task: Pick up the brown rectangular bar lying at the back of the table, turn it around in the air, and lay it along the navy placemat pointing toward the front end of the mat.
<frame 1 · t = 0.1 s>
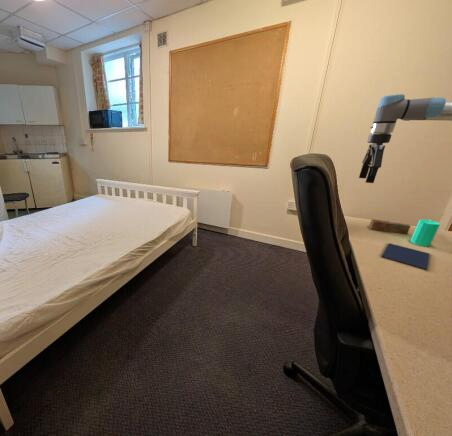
hand: (365, 180, 107), 26 cm above the table, tool pointing down, fingers open, 13 cm apart
candle: (419, 243, 100), on the table
placemat: (405, 255, 90), on the table
brown rectangular bar: (369, 228, 117), on the table
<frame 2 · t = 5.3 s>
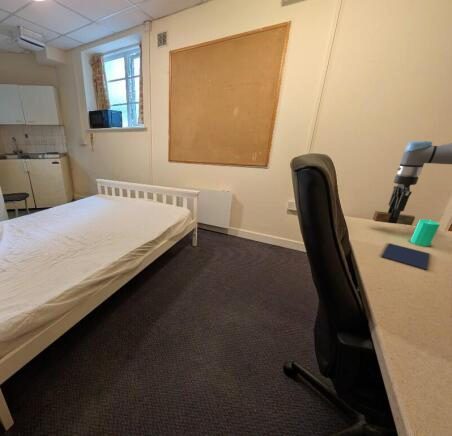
hand: (390, 221, 112), 5 cm above the table, tool pointing down, fingers closed on brown rectangular bar, 4 cm apart
brown rectangular bar: (373, 219, 115), point 5 cm above the table, touching gripper
everything else where it was.
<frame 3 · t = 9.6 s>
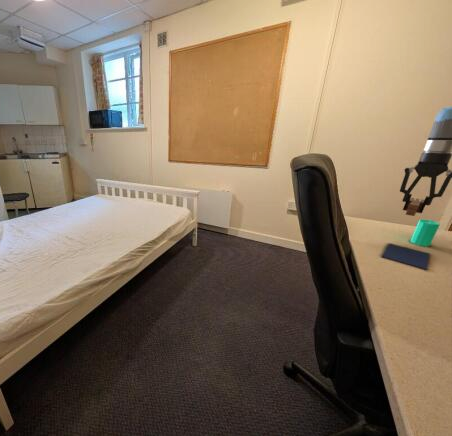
hand: (412, 210, 91), 17 cm above the table, tool pointing down, fingers closed on brown rectangular bar, 4 cm apart
brown rectangular bar: (413, 208, 95), point 17 cm above the table, touching gripper
everything else where it was.
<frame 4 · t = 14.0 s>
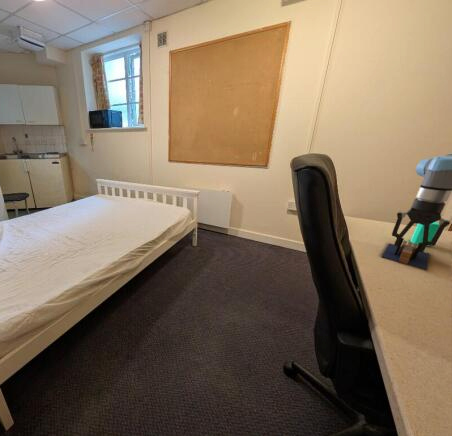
hand: (404, 255, 88), 1 cm above the table, tool pointing down, fingers closed on brown rectangular bar, 4 cm apart
brown rectangular bar: (406, 251, 92), resting on placemat, touching gripper
everything else where it was.
when the fingers open (1 cm above the table, at t = 14.2 s): brown rectangular bar stays where it is, resting on placemat.
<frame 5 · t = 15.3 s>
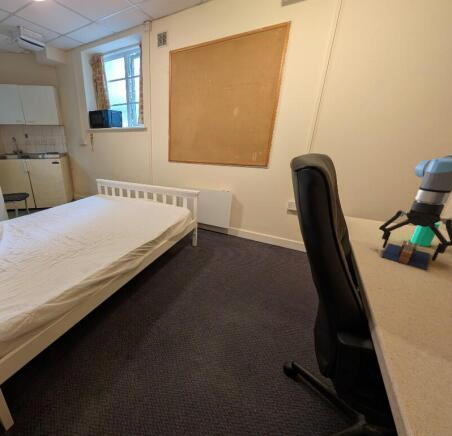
hand: (407, 252, 88), 2 cm above the table, tool pointing down, fingers open, 13 cm apart
brown rectangular bar: (406, 251, 92), resting on placemat
everything else where it was.
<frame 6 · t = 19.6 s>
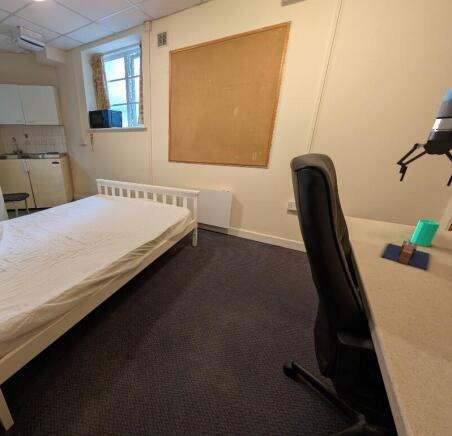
hand: (423, 183, 95), 27 cm above the table, tool pointing down, fingers open, 13 cm apart
nothing on the table moved.
at the end: brown rectangular bar 0.1 cm from the target spot on the placemat, point 0.4 cm above the placemat's base; brown rectangular bar tilted 0° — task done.
